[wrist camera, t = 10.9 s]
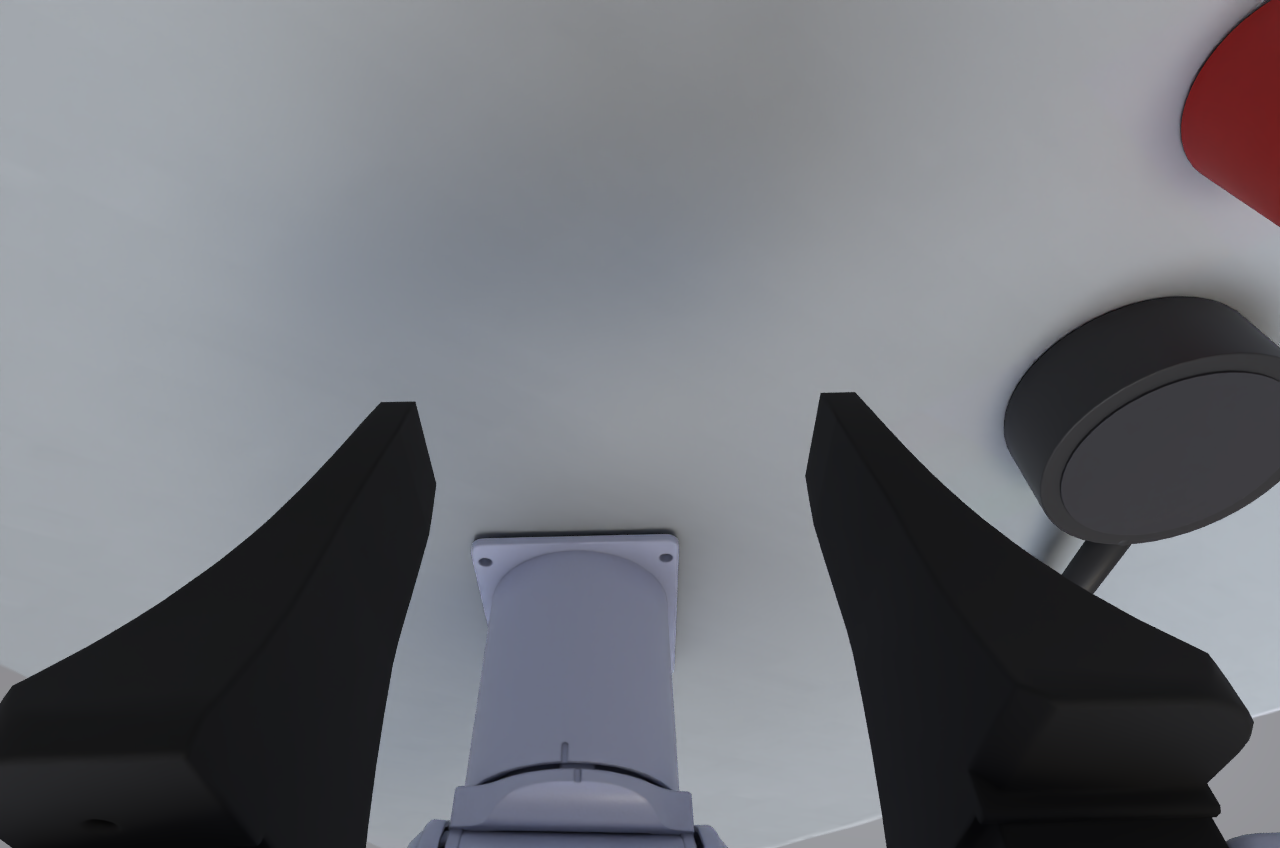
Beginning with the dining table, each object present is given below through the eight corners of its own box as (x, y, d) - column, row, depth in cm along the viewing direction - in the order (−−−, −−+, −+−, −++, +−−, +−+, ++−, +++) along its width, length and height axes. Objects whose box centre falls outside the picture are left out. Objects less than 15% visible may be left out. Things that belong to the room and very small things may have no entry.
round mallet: (1031, 723, 40) (1057, 782, 38) (880, 727, 40) (896, 787, 38) (1308, 293, 23) (1387, 352, 21) (1049, 298, 23) (1098, 357, 21)
